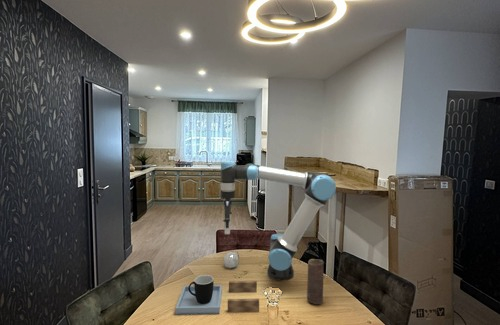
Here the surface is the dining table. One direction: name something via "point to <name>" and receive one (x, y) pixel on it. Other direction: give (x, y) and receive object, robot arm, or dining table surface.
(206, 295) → the mug
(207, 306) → the tray
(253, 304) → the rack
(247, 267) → the dining table surface
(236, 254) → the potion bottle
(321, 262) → the candle
